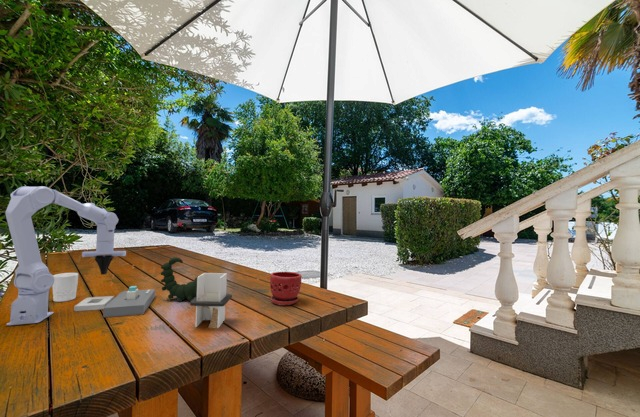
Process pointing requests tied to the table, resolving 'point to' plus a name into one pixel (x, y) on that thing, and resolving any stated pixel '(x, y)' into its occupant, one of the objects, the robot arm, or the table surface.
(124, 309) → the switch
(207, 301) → the white grey toy chair
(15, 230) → the robot arm
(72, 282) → the white cup
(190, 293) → the toy figurine
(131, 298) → the plug
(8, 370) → the table surface
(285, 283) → the plant pot
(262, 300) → the table surface
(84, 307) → the square frame
